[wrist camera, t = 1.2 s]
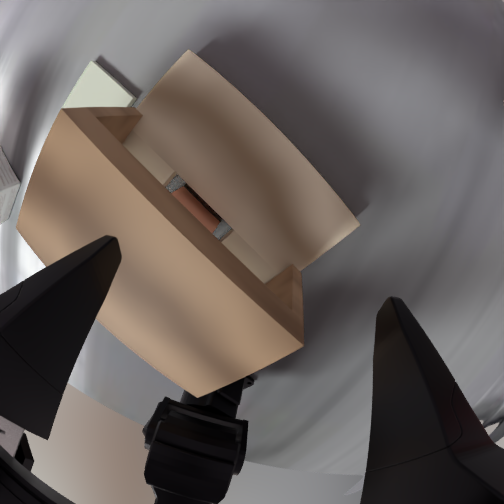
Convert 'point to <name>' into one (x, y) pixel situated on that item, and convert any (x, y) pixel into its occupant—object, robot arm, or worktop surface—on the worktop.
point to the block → (196, 208)
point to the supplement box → (7, 188)
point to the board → (238, 169)
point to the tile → (98, 90)
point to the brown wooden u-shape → (156, 258)
